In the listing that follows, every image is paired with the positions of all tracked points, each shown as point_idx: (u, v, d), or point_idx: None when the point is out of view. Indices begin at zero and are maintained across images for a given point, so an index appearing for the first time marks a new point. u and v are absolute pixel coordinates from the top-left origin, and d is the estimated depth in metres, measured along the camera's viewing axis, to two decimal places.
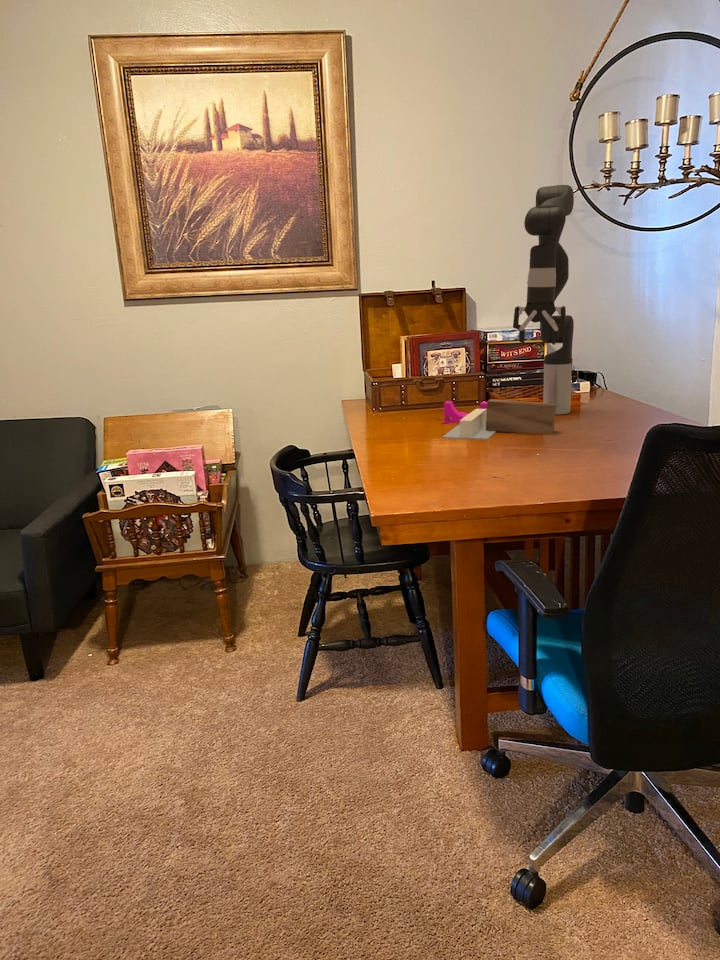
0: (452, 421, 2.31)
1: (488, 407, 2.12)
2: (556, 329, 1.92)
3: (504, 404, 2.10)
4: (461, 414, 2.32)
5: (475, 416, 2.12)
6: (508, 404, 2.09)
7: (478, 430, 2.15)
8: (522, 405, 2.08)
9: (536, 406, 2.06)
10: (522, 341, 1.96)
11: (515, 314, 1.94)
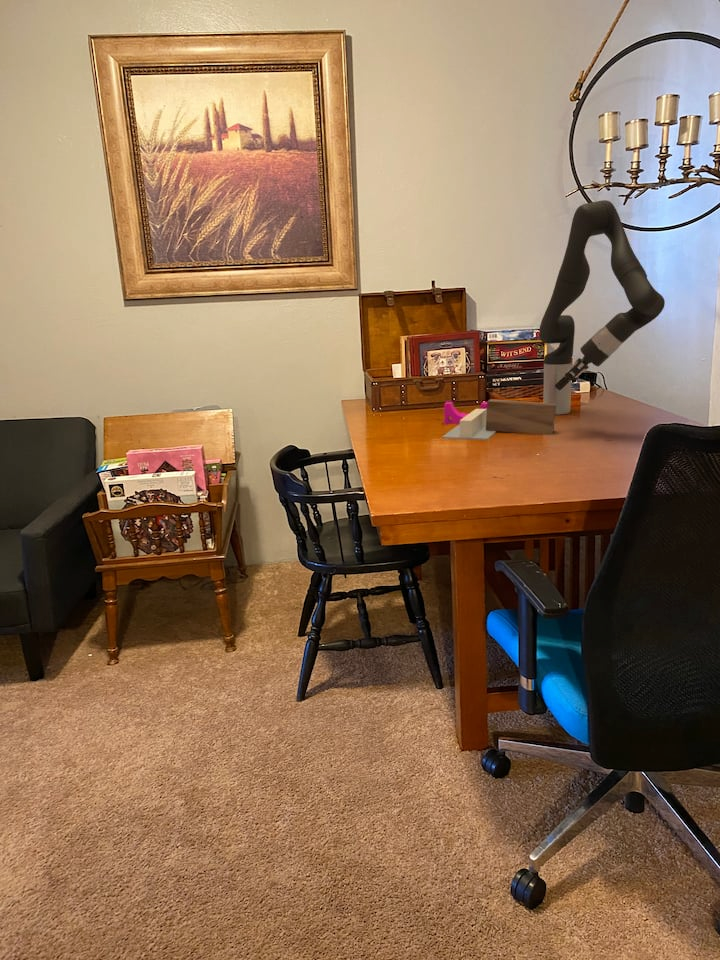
0: (452, 422, 2.30)
1: (488, 407, 2.12)
2: None
3: (504, 404, 2.10)
4: (461, 414, 2.31)
5: (475, 416, 2.12)
6: (508, 404, 2.09)
7: (478, 430, 2.15)
8: (522, 405, 2.08)
9: (536, 406, 2.06)
10: (561, 388, 2.00)
11: (580, 371, 1.94)
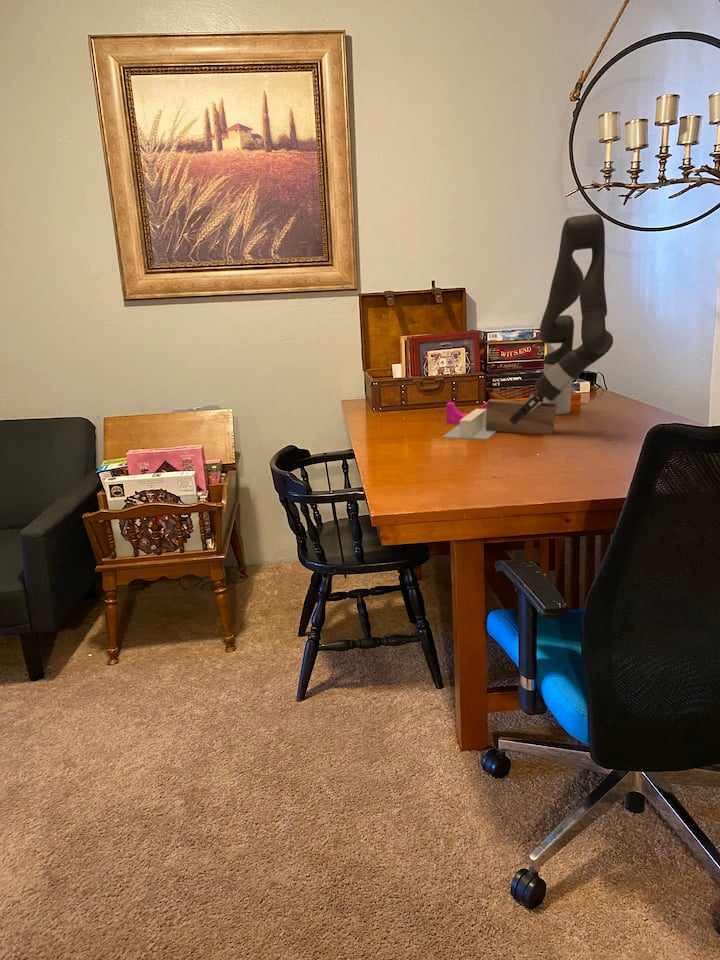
0: (455, 422, 2.29)
1: (488, 407, 2.12)
2: None
3: (504, 404, 2.10)
4: (463, 415, 2.30)
5: (475, 416, 2.12)
6: (508, 404, 2.09)
7: (478, 430, 2.15)
8: (522, 405, 2.08)
9: None
10: (516, 422, 2.10)
11: (532, 408, 2.03)
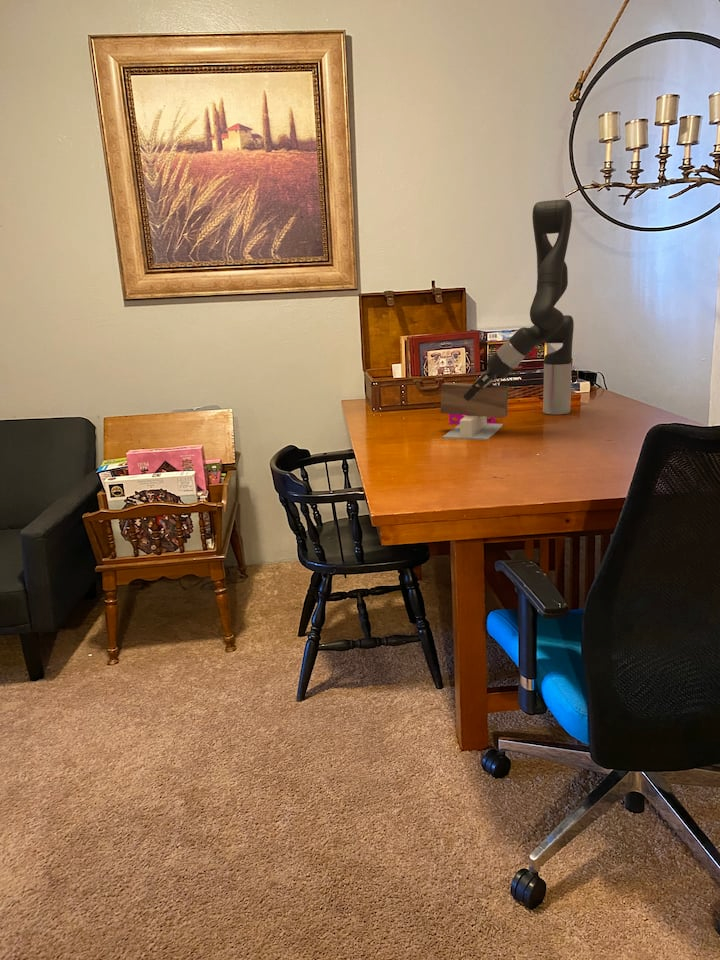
0: (457, 422, 2.29)
1: (442, 390, 2.14)
2: None
3: (458, 387, 2.12)
4: (465, 415, 2.30)
5: (475, 416, 2.12)
6: (461, 387, 2.12)
7: (478, 430, 2.15)
8: None
9: (488, 388, 2.09)
10: (469, 399, 2.10)
11: (485, 383, 2.04)
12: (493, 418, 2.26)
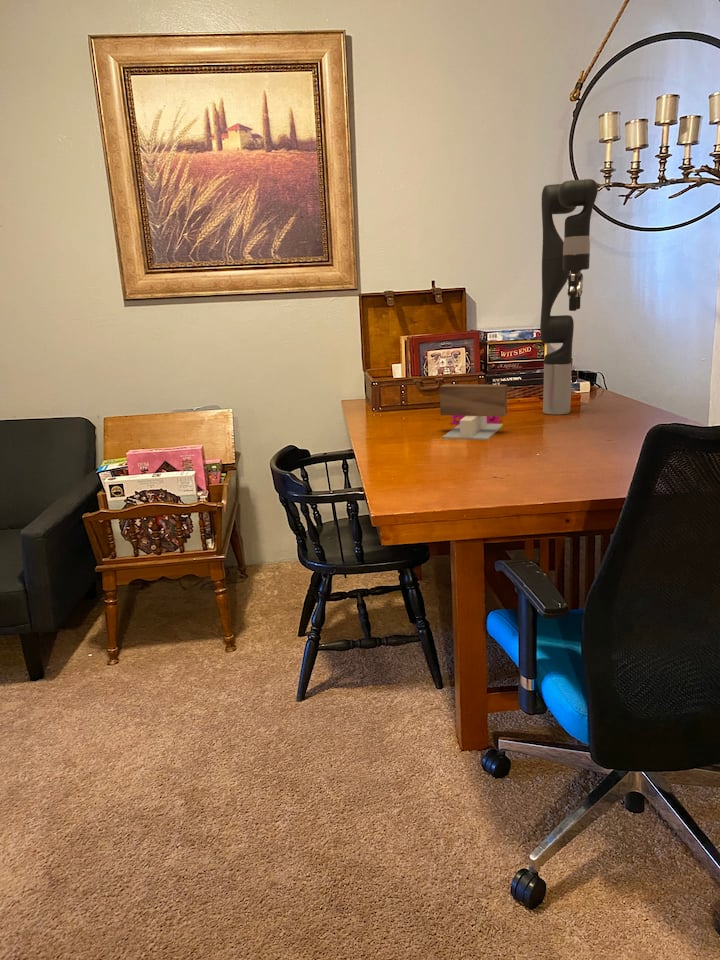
0: None
1: (441, 392, 2.15)
2: (581, 294, 2.09)
3: (456, 388, 2.12)
4: None
5: (475, 416, 2.12)
6: (460, 388, 2.12)
7: (478, 430, 2.15)
8: (473, 388, 2.10)
9: (487, 388, 2.09)
10: (576, 307, 2.02)
11: (577, 281, 1.98)
12: (497, 417, 2.27)
